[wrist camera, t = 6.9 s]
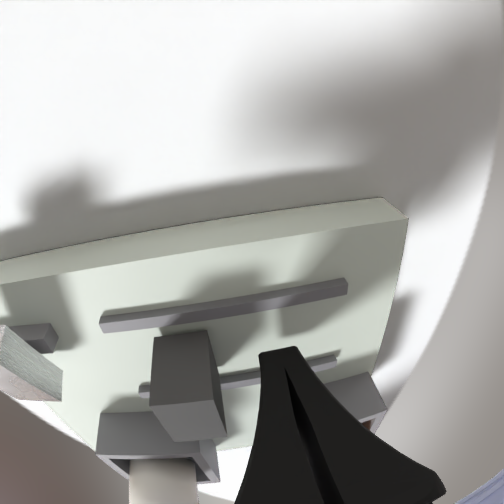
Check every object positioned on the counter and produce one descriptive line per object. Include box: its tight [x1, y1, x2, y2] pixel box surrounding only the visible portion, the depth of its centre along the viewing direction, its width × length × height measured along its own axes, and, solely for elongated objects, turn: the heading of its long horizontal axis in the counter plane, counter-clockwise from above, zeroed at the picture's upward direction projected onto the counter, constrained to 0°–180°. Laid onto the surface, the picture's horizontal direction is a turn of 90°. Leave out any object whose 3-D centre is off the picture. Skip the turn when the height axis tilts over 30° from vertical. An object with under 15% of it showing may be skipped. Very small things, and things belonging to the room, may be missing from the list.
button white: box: [129, 458, 199, 504], centre depth 12 cm, size 4×4×3 cm
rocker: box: [0, 325, 63, 402], centre depth 9 cm, size 4×3×1 cm, turn 5°
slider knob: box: [149, 330, 228, 442], centre depth 10 cm, size 3×2×3 cm
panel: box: [0, 197, 409, 484], centre depth 13 cm, size 15×18×5 cm
